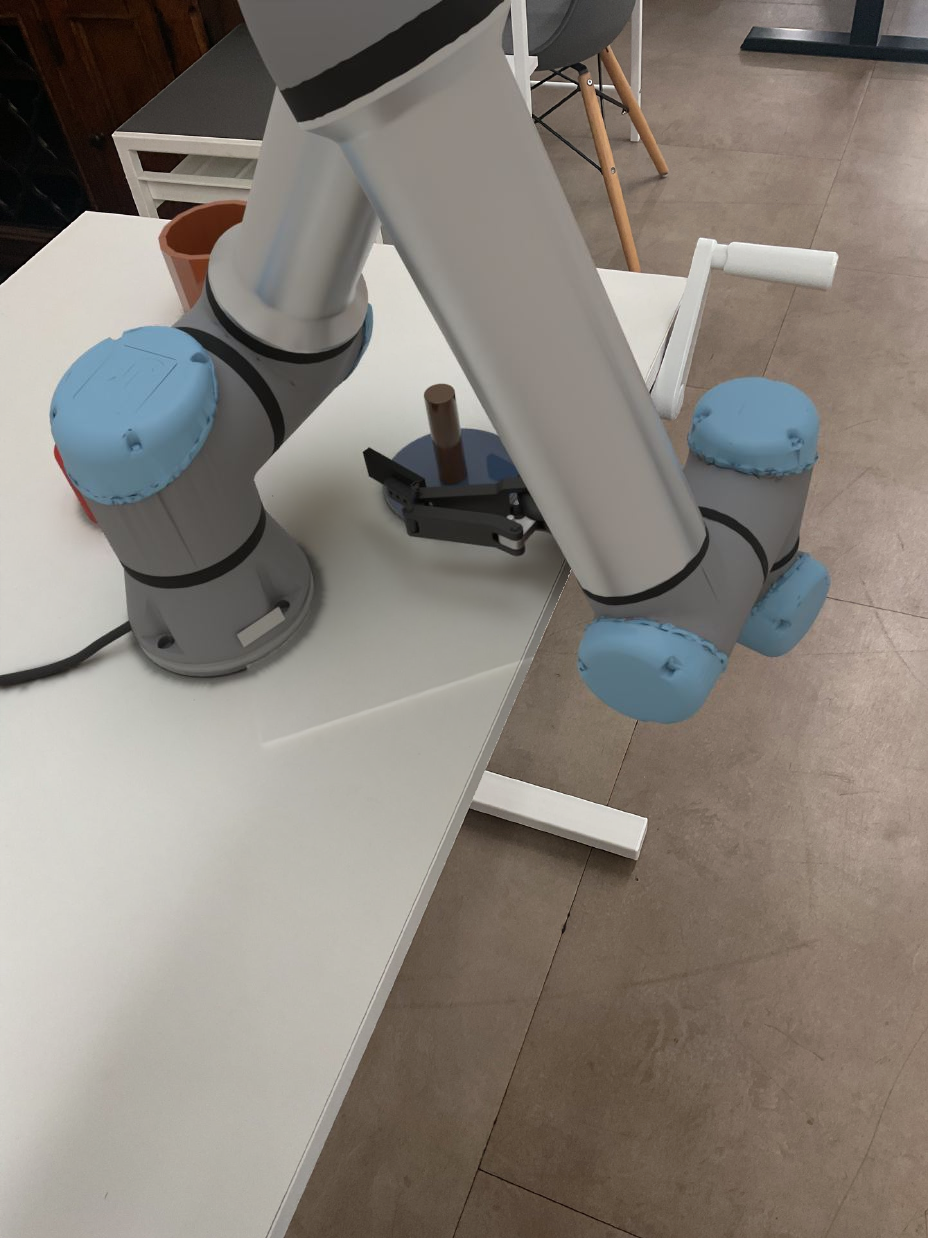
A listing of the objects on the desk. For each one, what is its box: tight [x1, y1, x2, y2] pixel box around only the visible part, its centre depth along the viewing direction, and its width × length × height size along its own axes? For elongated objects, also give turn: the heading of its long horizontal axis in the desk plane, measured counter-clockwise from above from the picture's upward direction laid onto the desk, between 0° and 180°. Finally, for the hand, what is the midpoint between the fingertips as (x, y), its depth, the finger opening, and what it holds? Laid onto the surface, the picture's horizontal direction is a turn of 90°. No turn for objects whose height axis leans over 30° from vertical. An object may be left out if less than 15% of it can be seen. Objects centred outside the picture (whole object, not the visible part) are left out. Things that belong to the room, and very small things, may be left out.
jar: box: [157, 199, 248, 315], centre depth 110 cm, size 12×12×10 cm
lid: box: [382, 383, 519, 520], centre depth 87 cm, size 13×13×10 cm
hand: (424, 417), depth 87 cm, fingers open, 13 cm apart
